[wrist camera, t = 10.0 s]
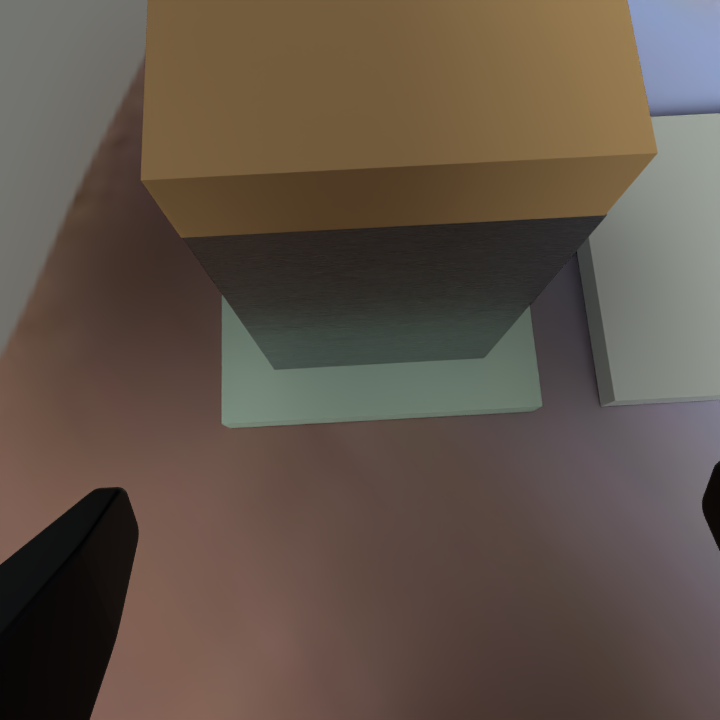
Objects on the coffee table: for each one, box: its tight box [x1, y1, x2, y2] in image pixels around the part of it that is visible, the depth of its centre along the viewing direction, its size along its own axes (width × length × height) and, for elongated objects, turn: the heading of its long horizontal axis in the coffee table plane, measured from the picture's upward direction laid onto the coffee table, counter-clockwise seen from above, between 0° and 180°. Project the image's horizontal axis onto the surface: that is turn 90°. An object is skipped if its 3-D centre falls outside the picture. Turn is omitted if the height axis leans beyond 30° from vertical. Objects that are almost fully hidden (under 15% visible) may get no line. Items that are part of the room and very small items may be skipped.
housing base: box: [183, 213, 607, 370], centre depth 13 cm, size 6×6×8 cm
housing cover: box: [141, 0, 658, 238], centre depth 9 cm, size 6×6×3 cm
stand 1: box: [222, 295, 543, 428], centre depth 18 cm, size 9×9×1 cm
